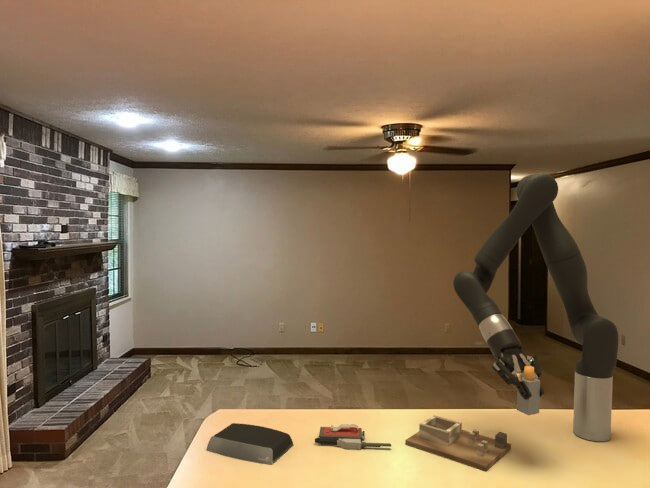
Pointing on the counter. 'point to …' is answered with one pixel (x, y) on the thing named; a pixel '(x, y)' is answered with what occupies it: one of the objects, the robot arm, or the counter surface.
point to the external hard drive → (250, 443)
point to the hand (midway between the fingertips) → (534, 396)
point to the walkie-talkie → (345, 437)
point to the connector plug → (533, 385)
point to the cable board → (459, 443)
